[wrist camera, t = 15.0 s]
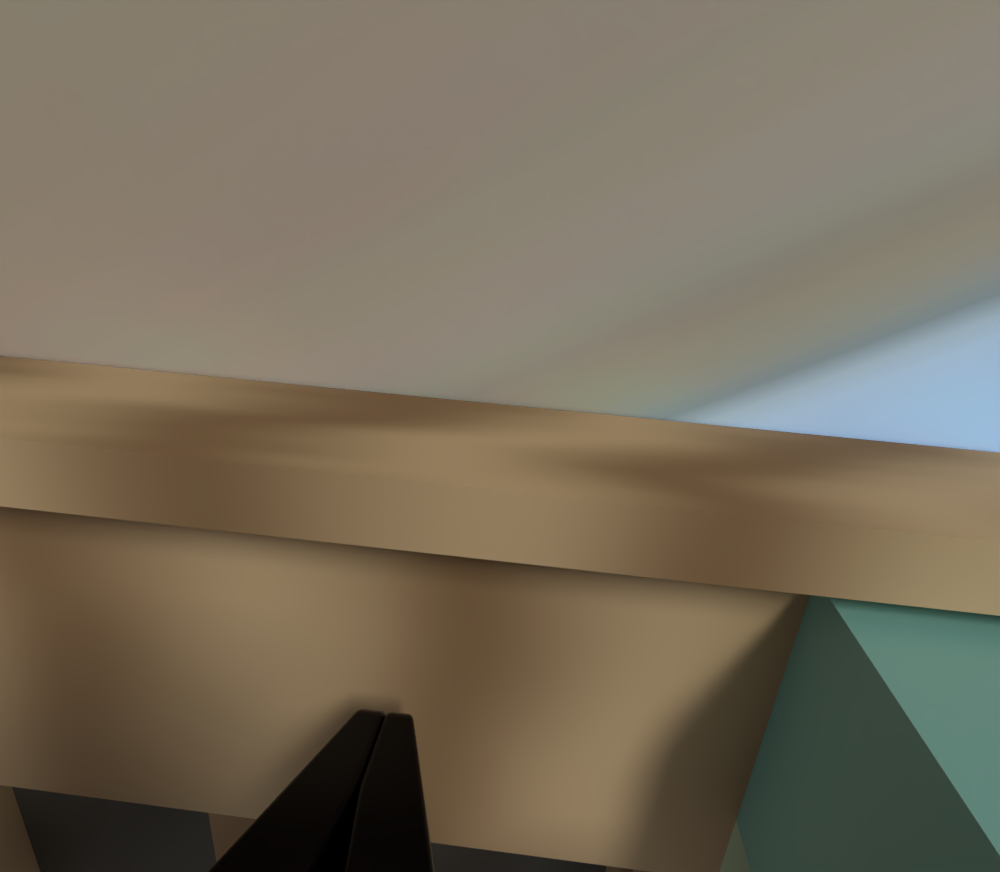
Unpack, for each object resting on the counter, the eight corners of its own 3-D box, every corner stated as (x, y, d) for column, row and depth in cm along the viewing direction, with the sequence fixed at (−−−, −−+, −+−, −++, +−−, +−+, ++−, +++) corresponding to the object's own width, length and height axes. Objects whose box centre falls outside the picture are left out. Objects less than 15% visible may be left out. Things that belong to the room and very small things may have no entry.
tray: (1181, 469, 10) (1574, 649, 6) (868, 1028, 16) (964, 1287, 12) (-462, 311, 11) (-980, 376, 7) (-156, 882, 17) (-352, 1073, 13)
